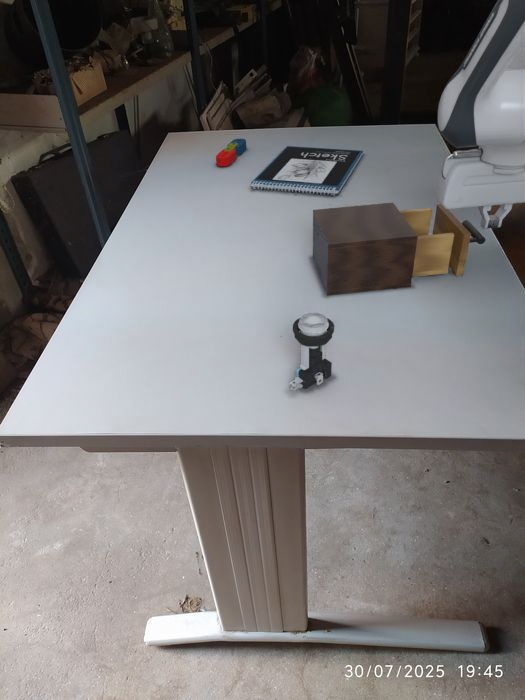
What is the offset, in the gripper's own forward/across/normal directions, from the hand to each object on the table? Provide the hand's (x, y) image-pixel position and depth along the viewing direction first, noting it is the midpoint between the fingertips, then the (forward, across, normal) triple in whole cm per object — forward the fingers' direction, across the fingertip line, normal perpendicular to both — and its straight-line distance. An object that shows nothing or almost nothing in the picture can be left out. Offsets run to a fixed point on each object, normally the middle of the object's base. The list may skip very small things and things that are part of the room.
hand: (490, 226), depth 94 cm
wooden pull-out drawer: (+5, -11, 0) cm, 12 cm away
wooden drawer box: (+6, -23, 0) cm, 24 cm away
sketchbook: (+7, -23, +52) cm, 57 cm away
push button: (+7, -37, -28) cm, 47 cm away
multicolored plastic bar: (+7, -42, +68) cm, 80 cm away
